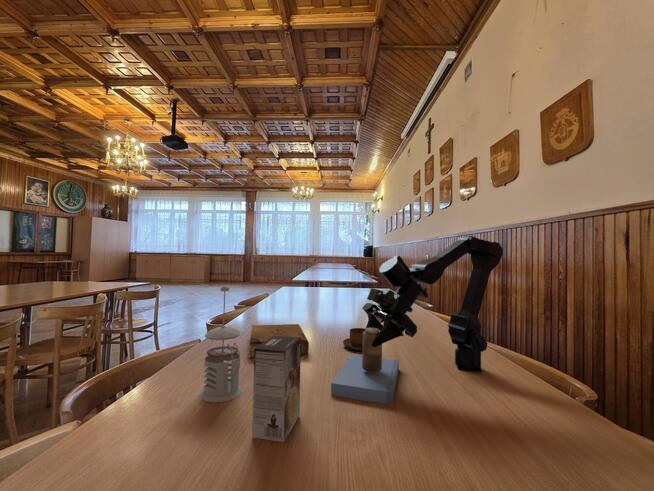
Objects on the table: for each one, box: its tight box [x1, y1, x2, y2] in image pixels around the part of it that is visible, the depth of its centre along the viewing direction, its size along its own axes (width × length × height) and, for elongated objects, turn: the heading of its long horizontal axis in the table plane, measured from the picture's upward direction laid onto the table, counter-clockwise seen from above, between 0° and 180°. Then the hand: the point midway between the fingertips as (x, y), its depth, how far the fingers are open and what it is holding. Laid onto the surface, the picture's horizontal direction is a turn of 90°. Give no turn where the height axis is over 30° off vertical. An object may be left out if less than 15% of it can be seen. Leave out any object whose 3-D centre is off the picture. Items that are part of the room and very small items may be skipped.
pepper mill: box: [362, 327, 383, 372], centre depth 78 cm, size 5×5×10 cm
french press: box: [198, 285, 244, 403], centre depth 71 cm, size 10×12×25 cm
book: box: [330, 353, 400, 406], centre depth 79 cm, size 14×22×3 cm, turn 163°
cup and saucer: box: [342, 327, 365, 351], centre depth 108 cm, size 12×12×6 cm
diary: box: [248, 323, 310, 360], centre depth 107 cm, size 23×19×6 cm
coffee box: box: [251, 336, 302, 443], centre depth 57 cm, size 9×6×16 cm
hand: (367, 342), depth 78 cm, fingers closed on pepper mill, 5 cm apart
